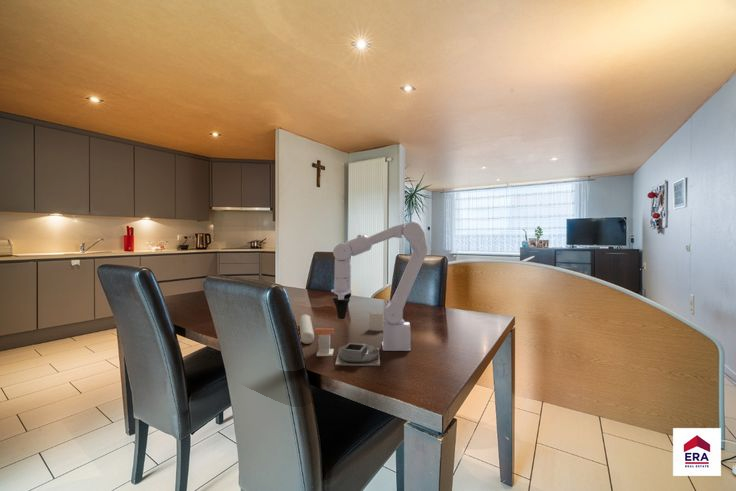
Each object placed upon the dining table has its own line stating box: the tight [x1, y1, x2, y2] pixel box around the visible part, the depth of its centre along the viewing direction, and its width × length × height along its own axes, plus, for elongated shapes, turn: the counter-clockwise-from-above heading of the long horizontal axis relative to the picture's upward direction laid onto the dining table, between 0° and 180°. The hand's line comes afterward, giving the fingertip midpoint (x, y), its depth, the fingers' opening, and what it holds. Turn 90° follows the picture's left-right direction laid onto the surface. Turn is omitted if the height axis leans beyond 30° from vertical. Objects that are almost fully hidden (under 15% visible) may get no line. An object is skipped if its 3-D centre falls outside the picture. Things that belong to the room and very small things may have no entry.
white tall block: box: [313, 327, 335, 353], centre depth 104 cm, size 6×3×8 cm, turn 90°
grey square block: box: [368, 312, 384, 332], centre depth 131 cm, size 3×7×7 cm, turn 76°
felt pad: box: [316, 348, 335, 357], centre depth 104 cm, size 5×5×1 cm
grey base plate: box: [337, 342, 380, 363], centre depth 101 cm, size 13×13×4 cm
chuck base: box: [335, 347, 381, 367], centre depth 101 cm, size 13×13×1 cm
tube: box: [298, 313, 315, 345], centre depth 124 cm, size 5×5×25 cm
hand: (342, 315), depth 112 cm, fingers open, 7 cm apart
